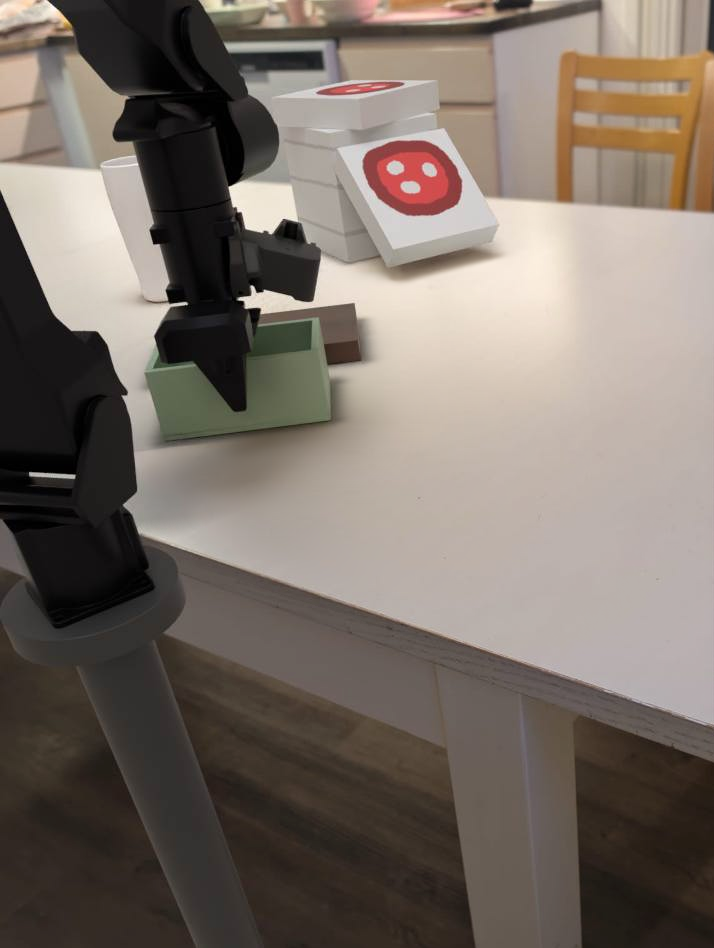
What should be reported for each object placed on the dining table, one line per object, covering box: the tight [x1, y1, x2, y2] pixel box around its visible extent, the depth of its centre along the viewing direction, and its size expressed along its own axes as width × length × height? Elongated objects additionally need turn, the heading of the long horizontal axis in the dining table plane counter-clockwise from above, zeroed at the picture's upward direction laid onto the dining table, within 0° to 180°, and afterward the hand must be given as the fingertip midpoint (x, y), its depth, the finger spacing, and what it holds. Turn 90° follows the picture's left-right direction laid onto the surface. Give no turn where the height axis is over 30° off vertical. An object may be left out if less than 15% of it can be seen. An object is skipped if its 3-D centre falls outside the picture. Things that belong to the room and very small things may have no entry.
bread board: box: [258, 302, 362, 365], centre depth 94 cm, size 12×20×2 cm, turn 98°
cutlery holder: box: [143, 317, 332, 442], centre depth 81 cm, size 9×14×6 cm, turn 98°
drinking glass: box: [99, 154, 169, 303], centre depth 109 cm, size 7×7×15 cm
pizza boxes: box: [270, 79, 500, 269], centre depth 119 cm, size 19×30×18 cm, turn 33°
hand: (240, 410), depth 76 cm, fingers closed
